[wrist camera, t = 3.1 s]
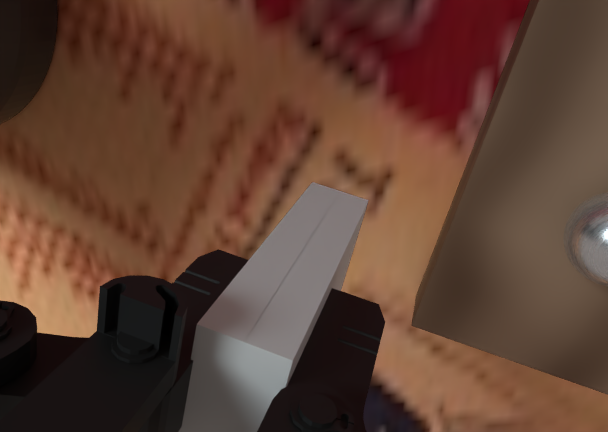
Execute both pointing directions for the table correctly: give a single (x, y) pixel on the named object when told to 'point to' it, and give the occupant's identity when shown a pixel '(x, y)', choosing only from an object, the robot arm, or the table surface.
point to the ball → (589, 239)
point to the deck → (531, 205)
